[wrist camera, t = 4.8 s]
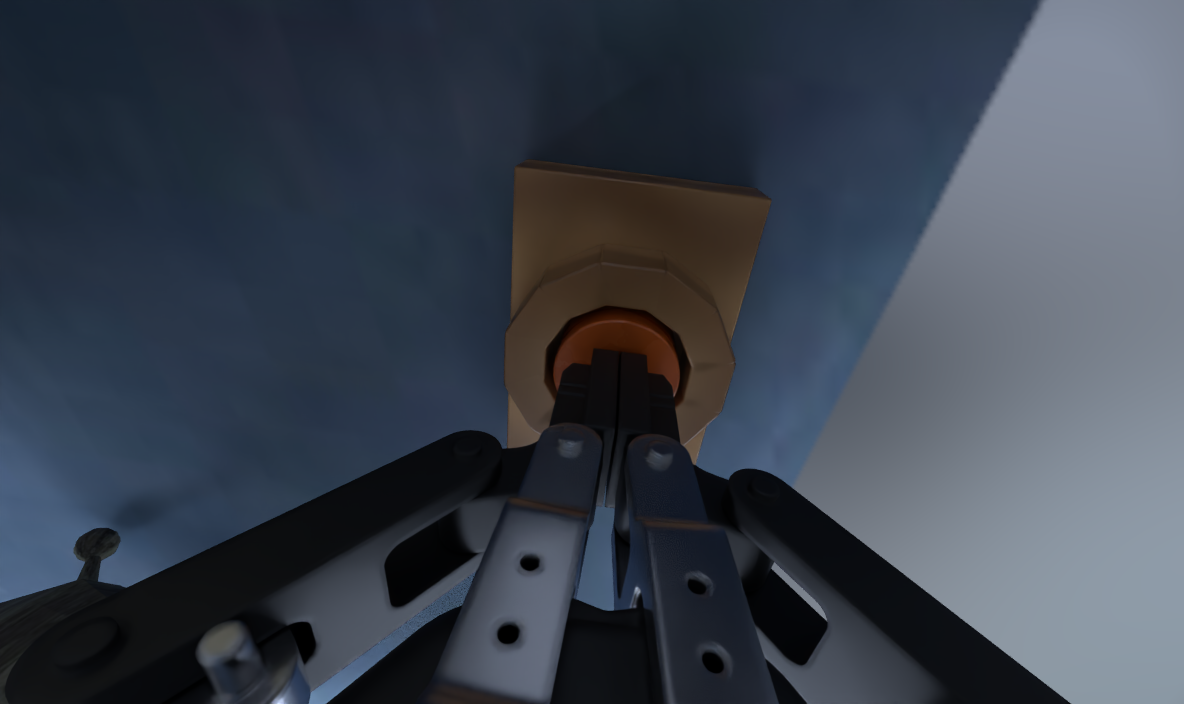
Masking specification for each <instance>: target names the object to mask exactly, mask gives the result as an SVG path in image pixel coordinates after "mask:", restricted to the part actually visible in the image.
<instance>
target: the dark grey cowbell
mask: <svg viewBox="0 0 1184 704" xmlns="http://www.w3.org/2000/svg"><path fill="white" fill-rule="evenodd" d="M120 541H121V540H120V536H119V535H118V533H117V532H116V531H114V530H112V529H109V528H96V529H93V530H91V531H89V532H87V533H85V534H84V535H82V536H81V537H79V539H78V540H77V542H76V544H75V547H74V554H75V555H76V557H77V559H79V560H82V561H84V562H85V564H84V566H83V568H82V570H81V572H80V575H79V577H78V579H77V580H76V581H73V582H70V583H66V584H63V585H60V586H56V587H53V588H49V589H46V590H43V591H39V592H36V593H33V594H29V595H26V596H22V597H19V598H16V599H12V600H9V601H6V602H2V603H0V704H9V703H8V701H7V699H6V697H5V685H6V681H7V678H8V676H9V673H10V671H11V669H12V668H13V666H14V665H15V663H16V661H17V660H18V659H19V657H20V656H21V655H22V654H23V653H24V651H25V650H26V649H27V648H28V647H29V646H30V645H31V644H32V643H33V642H34V641H35V640H36V639H38V638H39V637H40V636H41V635H42V634H43V633H45V632H46V631H47V630H49V629H50V628H51V627H53V626H54V625H56V624H57V623H58V622H60V621H62V620H63V619H65V618H66V617H68V616H70V615H71V614H73V613H75V612H77V611H79V610H81V609H83V608H85V607H87V606H89V605H91V604H94V603H96V602H98V601H100V600H102V599H104V598H106V597H108V596H110V595H113V594H115V593H117V592H119V591H121V590H123V589H125V587H122V586H119V585H114V584H108V583H103V582H98V577H99V570H100V563H101V560H103V559H105V558H107V557H109V556H111V555H112V554H114V553H115V552H116V550H117V548H118V546H119V543H120Z"/></svg>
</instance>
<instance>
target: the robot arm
mask: <svg viewBox="0 0 1184 704" xmlns="http://www.w3.org/2000/svg"><path fill="white" fill-rule="evenodd" d="M618 361H619V364H618ZM606 481H607V483H606ZM605 487H606V499H605V507H610V508H615V516H614V524H613V529H612V534H611V545H612V567H613V589H614V611H606V610H602V609H599V608H596V607H594V606H591V605H589V604H586V603H584V602H582V601H579V600H577V599H576V598H577V593H578V588H579V583H580V577H581V572H582V567H583V561H584V556H585V551H586V546H587V540H588V535H589V529H590V527H591V526H592V524H593V521H594V515H595V509H596V506H601V507H602V505H603V499H604V493H605ZM774 562H775V563H776V564H777V565H778V566H779V567H780V568H781V569H782V570H784V572H786V573H787V574H788V575H789V576H790V577H791V578H792V579H793V580H794V581H795V582H796V583H797V584H799V585H800V586H801V587H802V588H803V589H804V590H805V591H806V592H807V593H808V594H809V595H810V596H811V597H812V598H814V599H815V601H816V602H818V604H819V605H820V606H821V608H822V609H823V611H824V612H825V615H826V618H827V621H828V622H827V621H826V620H825V619H824V618H823V617H822V616H820V615H819V614H818V613H817V612H816V611H815V610H814V609H813V608H812V607H811V606H810V605H809V604H808V603H807V602H806V601H805V600H804V599H803V598H802V597H800V596H799V595H798V594H797V593H796V592H795V591H794V590H793V589H792V588H791V587H790V586H789V585H788V584H787V583H786V582H785V581H784V580H783V579H782V578H780V577H779V576H778V575H777V574H776V573H775V572H774V571H773V570H772V569H771V567H772V565H773V563H774ZM475 571H476V574H475V576H474V579H473V581H472V584H471V586H470V588H469V591H468V593H467V596H466V598H465V600H464V603H463V605H462V606H459V607H457V608H454V609H452V610H450V611H448V612H446V613H444V614H442V615H440V616H438V617H436V618H435V619H433V620H432V621H430V622H428V623H427V624H425V625H424V626H422V627H421V628H420V629H418V630H417V631H416V632H415V633H413V634H412V635H411V636H410V637H408V638H407V639H406V640H405V641H403V642H402V643H401V644H400V645H399V646H397V647H396V648H395V649H394V650H392V651H391V652H390V653H389V654H387V655H386V656H385V657H384V658H382V659H381V660H380V661H379V662H377V663H376V664H375V665H374V666H373V667H371V668H370V669H369V670H368V671H366V672H365V673H364V674H363V675H361V676H360V677H359V678H358V679H356V680H355V681H354V682H353V683H351V684H350V685H349V686H348V687H346V688H345V689H344V690H343V691H342V692H340V693H339V694H338V695H337V696H335V697H334V698H333V699H332V700H330V701H329V702H328V703H327V704H1071V703H1069V702H1068V701H1067V700H1065V699H1064V698H1063V697H1062V696H1060V695H1059V694H1058V693H1056V692H1055V691H1054V690H1053V689H1051V688H1050V687H1049V686H1047V685H1046V684H1045V683H1044V682H1042V681H1041V680H1040V679H1038V678H1037V677H1036V676H1034V675H1033V674H1032V673H1030V672H1029V671H1028V670H1027V669H1025V668H1024V667H1023V666H1021V665H1020V664H1019V663H1017V662H1016V661H1015V660H1014V659H1013V658H1011V657H1010V656H1008V655H1007V654H1006V653H1005V652H1003V651H1002V650H1001V649H999V648H998V647H997V646H996V645H994V644H993V643H992V642H991V641H989V640H988V639H987V638H985V637H984V636H983V635H982V634H980V633H979V632H978V631H976V630H975V629H974V628H972V627H971V626H970V625H969V624H967V623H966V622H965V621H963V620H962V619H960V618H959V617H958V616H957V615H956V614H954V613H953V612H951V611H950V610H949V609H948V608H947V607H945V606H944V605H943V604H941V603H940V602H939V601H938V600H936V599H935V598H934V597H932V596H931V595H930V594H928V593H927V592H926V591H925V590H923V589H922V588H921V587H919V586H918V585H917V584H916V583H914V582H913V581H912V580H910V579H909V578H908V577H906V576H905V575H904V574H903V573H901V572H900V571H899V570H898V569H896V568H895V567H893V566H892V565H891V564H890V563H888V562H887V561H886V560H885V559H883V558H882V557H880V556H879V555H878V554H877V553H875V552H874V551H873V550H871V549H870V548H869V547H868V546H866V545H865V544H864V543H862V542H861V541H860V540H859V539H857V538H856V537H855V536H854V535H852V534H851V533H850V532H848V531H847V530H845V528H843V527H842V526H841V525H839V524H838V523H837V522H835V521H834V520H833V519H831V518H830V517H829V516H828V515H826V514H825V513H824V512H822V511H821V510H820V509H819V508H817V507H816V506H815V505H813V504H812V503H811V502H810V501H808V500H807V499H806V498H804V497H803V496H802V495H801V494H799V493H798V492H797V491H795V490H794V489H793V488H792V487H790V486H789V485H788V484H786V483H785V482H784V481H782V480H781V479H779V478H778V477H776V476H774V475H772V474H770V473H768V472H765V471H762V470H757V469H742V470H738V471H736V472H735V473H733V474H732V475H731V476H730V478H729V480H727V479H724V478H721V477H719V476H716V475H713V474H711V473H708V472H706V471H704V470H702V469H700V468H699V467H697V466H696V465H694V464H693V463H692V460H691V456H690V454H689V452H688V451H687V449H686V448H685V447H684V446H683V445H682V444H681V443H680V436H679V429H678V422H677V415H676V410H675V401H674V394H673V388H672V385H671V384H670V382H669V381H668V380H667V379H666V377H665V376H664V375H662V374H655V373H648V367H647V355H643V354H636V353H628V352H621V353H620V358H619V351H612V350H605V349H597V348H593V355H592V361H591V365H586V364H578V363H572V364H570V365H569V366H568V367H567V368H566V369H565V370H564V371H563V372H562V376H561V380H560V385H559V388H558V392H557V396H556V400H555V404H554V408H553V412H552V416H551V420H550V424H549V427H548V428H547V429H545V430H544V431H543V432H542V433H541V435H540V437H539V440H538V441H536V442H535V443H532V444H530V445H527V446H523V447H517V448H507V449H502V447H501V444H500V443H499V441H498V440H497V439H496V438H495V437H493V436H492V435H490V434H488V433H485V432H481V431H473V430H468V431H460V432H456V433H453V434H450V435H448V436H446V437H444V438H442V439H439V440H437V441H435V442H433V443H431V444H429V445H427V446H425V447H423V448H420V449H418V450H416V451H414V452H412V453H410V454H408V455H406V456H404V457H401V458H399V459H397V460H395V461H393V462H391V463H389V464H387V465H385V466H382V467H380V468H378V469H376V470H374V471H372V472H370V473H368V474H366V475H364V476H361V477H359V478H357V479H355V480H353V481H351V482H349V483H347V484H345V485H342V486H340V487H338V488H336V489H334V490H332V491H330V492H328V493H326V494H323V495H321V496H319V497H317V498H315V499H313V500H311V501H309V502H307V503H304V504H302V505H300V506H298V507H296V508H294V509H292V510H290V511H288V512H285V513H283V514H281V515H279V516H277V517H275V518H273V519H271V520H269V521H267V522H264V523H262V524H260V525H258V526H256V527H254V528H252V529H250V530H248V531H245V532H243V533H241V534H239V535H237V536H235V537H233V538H231V539H229V540H226V541H224V542H222V543H220V544H218V545H216V546H214V547H212V548H210V549H207V550H205V551H203V552H201V553H199V554H197V555H195V556H193V557H191V558H188V559H186V560H184V561H182V562H180V563H178V564H176V565H174V566H172V567H170V568H167V569H165V570H163V571H161V572H159V573H157V574H155V575H153V576H151V577H148V578H146V579H144V580H142V581H140V582H138V583H136V584H134V585H132V586H129V587H127V588H125V589H123V590H121V591H119V592H117V593H115V594H113V595H110V596H108V597H106V598H104V599H102V600H100V601H98V602H96V603H94V604H91V605H89V606H87V607H85V608H83V609H81V610H79V611H77V612H75V613H73V614H71V615H70V616H68V617H66V618H65V619H63V620H62V621H60V622H58V623H57V624H56V625H54V626H53V627H51V628H50V629H49V630H47V631H46V632H45V633H43V634H42V635H41V636H40V637H39V638H38V639H36V640H35V641H34V642H33V643H32V644H31V645H30V646H29V647H28V648H27V649H26V650H25V651H24V653H23V654H22V655H21V656H20V657H19V659H18V660H17V661H16V663H15V665H14V666H13V668H12V669H11V671H10V673H9V676H8V678H7V681H6V685H5V697H6V699H7V701H8V703H9V704H309V699H310V693H311V692H312V691H314V690H315V689H316V688H318V687H319V686H320V685H322V684H323V683H324V682H326V681H327V680H329V679H330V678H331V677H333V676H334V675H335V674H337V673H338V672H339V671H341V670H342V669H344V668H345V667H346V666H348V665H349V664H350V663H352V662H353V661H354V660H356V659H357V658H358V657H360V656H361V655H363V654H364V653H365V652H367V651H368V650H369V649H371V648H372V647H373V646H375V645H376V644H378V643H379V642H380V641H382V640H383V639H384V638H386V637H387V636H388V635H390V634H391V633H392V632H394V631H395V630H397V629H398V628H399V627H401V626H402V625H403V624H405V623H406V622H407V621H409V620H410V619H412V618H413V617H414V616H416V615H417V614H418V613H420V612H421V611H422V610H424V609H425V608H426V607H428V606H429V605H431V604H432V603H433V602H435V601H436V600H437V599H439V598H440V597H441V596H443V595H444V594H446V593H447V592H448V591H450V590H451V589H452V588H454V587H455V586H456V585H458V584H459V583H461V582H462V581H463V580H465V579H466V578H467V577H469V576H470V575H471V574H473V573H474V572H475Z"/></svg>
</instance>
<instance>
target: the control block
mask: <svg viewBox="0 0 1184 704" xmlns="http://www.w3.org/2000/svg"><path fill="white" fill-rule="evenodd" d="M770 205H771V199H770V198H769V197H768V196H766V195H765V194H763V193H762V192H761V191H759V190H758V189H756V188H750V187H742V186H735V185H727V184H719V183H711V182H703V181H695V180H688V179H680V178H672V177H664V176H656V175H648V174H641V173H633V172H625V171H617V170H609V169H601V168H594V167H586V166H578V165H570V164H562V163H554V162H547V161H539V160H531V159H527V160H525V161H524V162H522V163H520V164H519V165H517V166H515V168H514V204H513V241H512V279H511V316H510V324H509V326H508V328H507V329H506V333H505V351H504V385H505V387H506V389H507V391H508V427H507V448H517V447H523V446H527V445H530V444H532V443H535V442H536V441H538V440H539V437H540V435H541V433H542V432H543V431H544V430H545V429H547V428H548V427H549V424H550V420H551V416H552V412H553V408H554V404H555V400H556V396H557V392H558V391H557V389H556V386H555V383H554V377H553V367H554V361H555V357H556V354H557V351H558V347H559V344H560V340H561V337H562V334H563V331H564V328H565V326H566V324H567V323H568V321H569V320H570V319H571V318H574V317H576V316H579V315H582V314H584V313H587V312H590V311H592V310H595V309H598V308H600V307H603V306H606V305H607V306H615V307H622V308H630V309H638V310H645V311H647V312H649V313H650V314H651V315H653V316H654V317H655V318H657V319H658V320H660V321H661V322H662V323H664V324H665V325H666V326H668V327H669V328H670V329H671V330H672V332H673V335H674V339H675V345H676V350H677V356H678V361H679V368H680V381H679V386H678V389H677V392H676V394H675V396H674V401H675V410H676V415H677V422H678V429H679V436H680V443H681V444H682V445H683V446H684V447H685V448H686V449H687V451H688V452H689V454H690V456H691V460H692V463H693V464H694V465H696V461H697V458H698V454H699V451H700V447H701V444H702V440H703V437H704V433H705V430H706V426H707V425H708V424H709V423H710V422H712V421H713V420H714V419H715V418H716V417H717V416H718V415H719V414H720V413H721V411H722V408H723V405H724V402H725V398H726V395H727V392H728V388H729V385H730V382H731V379H732V375H733V372H734V369H735V365H736V363H735V357H734V354H733V351H732V348H731V345H730V343H731V340H732V336H733V333H734V329H735V326H736V323H737V319H738V316H739V312H740V309H741V305H742V302H743V298H744V295H745V291H746V288H747V284H748V281H749V277H750V274H751V271H752V267H753V264H754V260H755V257H756V253H757V250H758V246H759V243H760V239H761V236H762V232H763V229H764V225H765V222H766V219H767V215H768V212H769V208H770Z"/></svg>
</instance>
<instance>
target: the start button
mask: <svg viewBox="0 0 1184 704" xmlns="http://www.w3.org/2000/svg"><path fill="white" fill-rule="evenodd" d="M593 348H597V349H605V350H612V351H619V358H620V353H621V352H628V353H636V354H643V355H647V367H648V373H655V374H662V375H664V376H665V377H666V379H667V380H668V381H669V382H670V384H671V385H672V388H673V394H674V396H675V394H676V392H677V389H678V386H679V381H680V368H679V361H678V356H677V350H676V345H675V339H674V335H673V332H672V330H671V329H670V328H669V327H668V326H666V325H665V324H664V323H662V322H661V321H660V320H658V319H657V318H655V317H654V316H653V315H651V314H650V313H649V312H647V311H645V310H638V309H630V308H622V307H615V306H607V305H606V306H603V307H600V308H598V309H595V310H592V311H590V312H587V313H584V314H582V315H579V316H576V317H574V318H571V319H570V320H569V321H568V323H567V324H566V326H565V328H564V331H563V334H562V337H561V340H560V344H559V347H558V351H557V354H556V357H555V361H554V367H553V377H554V383H555V386H556V389H557V391H558V388H559V385H560V380H561V376H562V372H563V371H564V370H565V369H566V368H567V367H568V366H569V365H570V364H572V363H578V364H586V365H591V361H592V355H593ZM618 364H619V361H618Z"/></svg>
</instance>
